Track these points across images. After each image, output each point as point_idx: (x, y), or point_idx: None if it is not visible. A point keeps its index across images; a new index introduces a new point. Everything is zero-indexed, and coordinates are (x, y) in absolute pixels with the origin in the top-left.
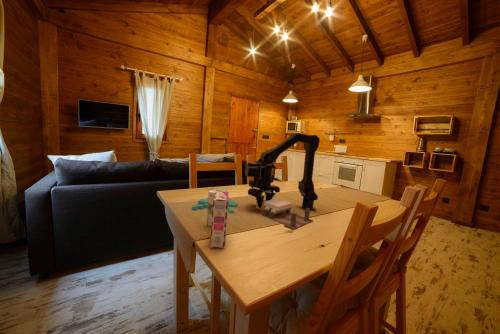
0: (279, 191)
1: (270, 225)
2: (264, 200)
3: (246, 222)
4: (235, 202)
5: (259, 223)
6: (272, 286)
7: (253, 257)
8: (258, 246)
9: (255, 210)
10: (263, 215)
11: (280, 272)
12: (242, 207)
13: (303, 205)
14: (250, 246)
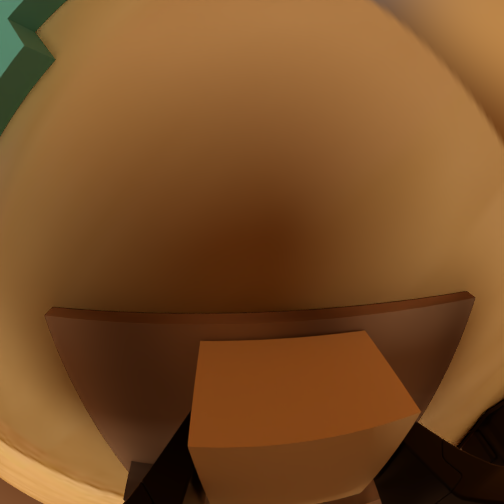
0: None
1: (111, 491)
2: (373, 456)
3: (3, 416)
4: (11, 30)
5: (64, 462)
6: (26, 493)
7: (9, 473)
8: (23, 476)
9: (126, 389)
10: (134, 466)
11: (44, 501)
12: (59, 149)
13: (477, 450)
14: (6, 464)
